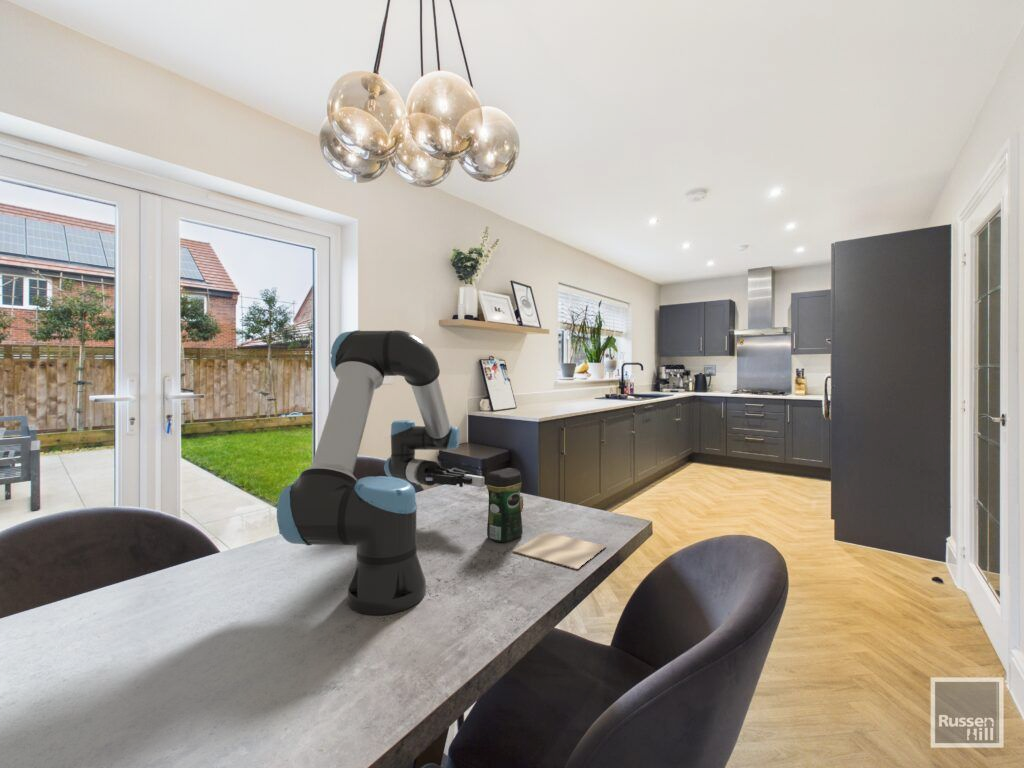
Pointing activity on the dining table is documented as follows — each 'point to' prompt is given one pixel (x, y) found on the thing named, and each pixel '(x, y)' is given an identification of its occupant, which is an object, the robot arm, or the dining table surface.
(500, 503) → the coffee jar
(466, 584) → the dining table surface
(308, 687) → the dining table surface
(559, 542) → the mat
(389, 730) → the dining table surface
